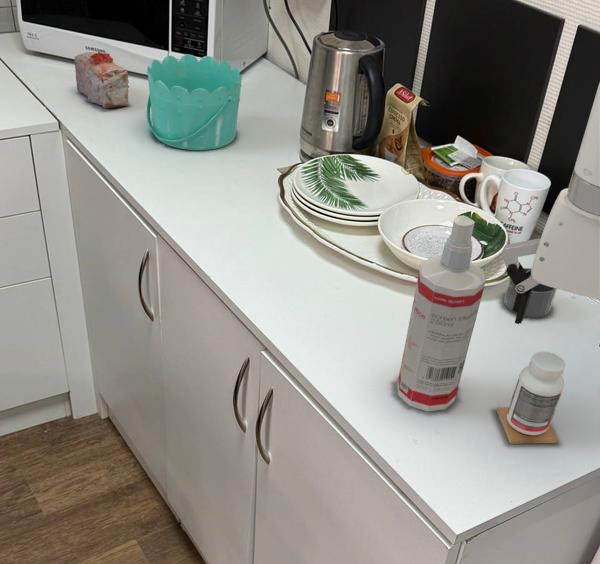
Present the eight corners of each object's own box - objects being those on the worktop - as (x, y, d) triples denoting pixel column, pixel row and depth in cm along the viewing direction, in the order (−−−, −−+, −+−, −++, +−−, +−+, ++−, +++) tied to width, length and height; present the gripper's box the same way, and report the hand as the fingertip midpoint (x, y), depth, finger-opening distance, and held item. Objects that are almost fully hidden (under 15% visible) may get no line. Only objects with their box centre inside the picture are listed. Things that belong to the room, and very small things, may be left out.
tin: (541, 293, 127) (549, 268, 124) (555, 318, 122) (564, 293, 119) (498, 292, 126) (505, 267, 124) (511, 317, 121) (518, 292, 118)
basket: (256, 144, 164) (259, 79, 155) (176, 160, 155) (174, 92, 147) (210, 111, 175) (210, 49, 167) (133, 124, 167) (129, 60, 158)
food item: (135, 107, 174) (132, 60, 168) (102, 113, 170) (98, 65, 163) (103, 87, 182) (99, 41, 175) (71, 93, 177) (66, 46, 171)
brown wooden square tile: (540, 411, 105) (542, 407, 104) (556, 443, 100) (558, 438, 99) (496, 411, 104) (497, 407, 103) (509, 443, 99) (511, 439, 99)
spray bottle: (466, 400, 105) (513, 228, 89) (423, 418, 102) (463, 242, 86) (428, 367, 110) (466, 199, 94) (385, 383, 107) (416, 211, 91)
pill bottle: (556, 434, 100) (579, 373, 94) (516, 439, 99) (537, 376, 93) (537, 406, 104) (558, 345, 98) (499, 410, 103) (518, 349, 97)
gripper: (698, 198, 82) (642, 335, 93) (530, 159, 86) (496, 293, 98) (693, 229, 76) (634, 370, 87) (514, 186, 81) (479, 325, 92)
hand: (561, 330), depth 92 cm, fingers open, 9 cm apart
